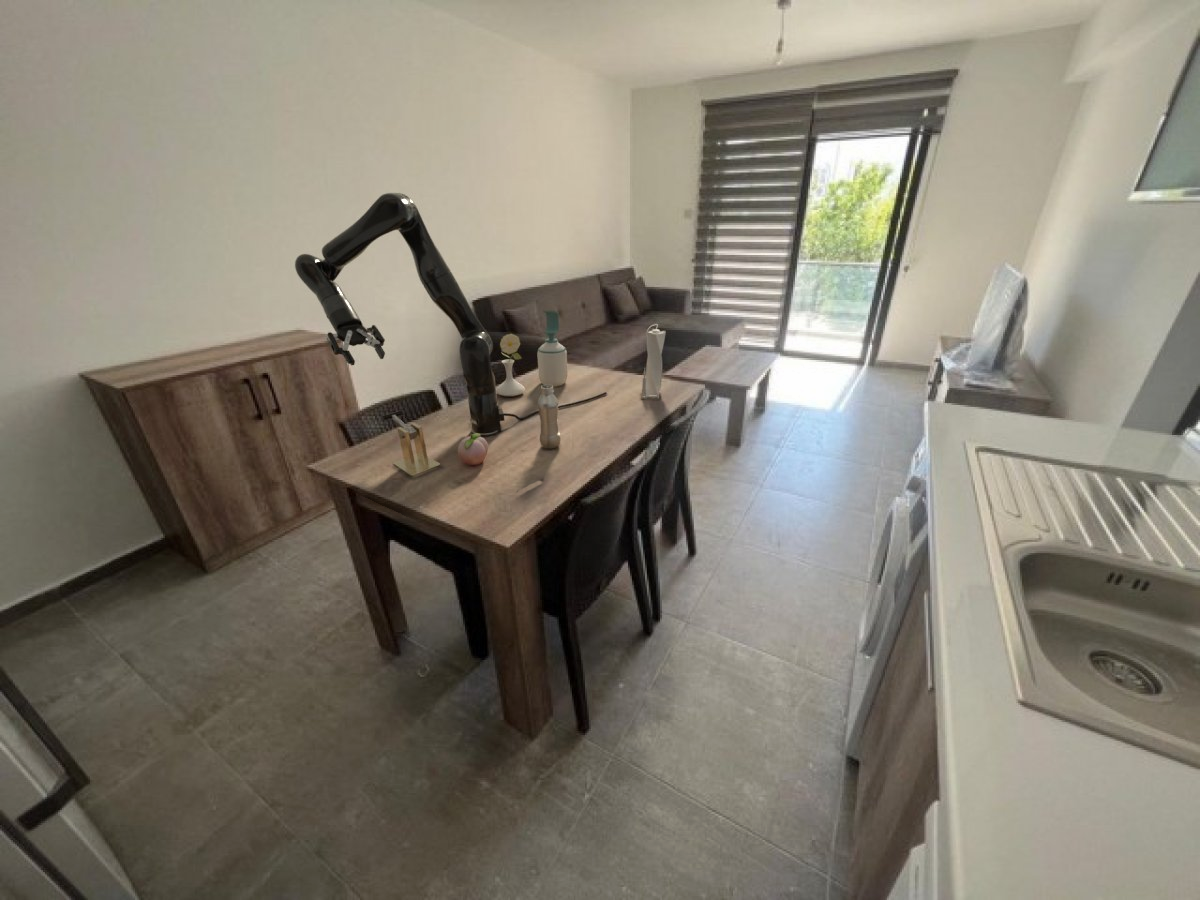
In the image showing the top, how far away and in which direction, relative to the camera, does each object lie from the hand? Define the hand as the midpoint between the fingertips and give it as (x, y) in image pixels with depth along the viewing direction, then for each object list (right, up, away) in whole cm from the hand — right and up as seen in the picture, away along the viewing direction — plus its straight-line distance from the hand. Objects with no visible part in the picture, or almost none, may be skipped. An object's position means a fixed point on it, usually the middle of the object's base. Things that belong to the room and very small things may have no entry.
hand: (368, 360), depth 137 cm
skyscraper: (+88, -4, +55) cm, 104 cm away
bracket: (+13, -31, +2) cm, 34 cm away
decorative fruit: (+30, -30, +3) cm, 43 cm away
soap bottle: (+47, +3, +69) cm, 84 cm away
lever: (+10, -20, 0) cm, 22 cm away
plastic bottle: (+51, -25, +14) cm, 58 cm away
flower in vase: (+31, -3, +57) cm, 65 cm away
